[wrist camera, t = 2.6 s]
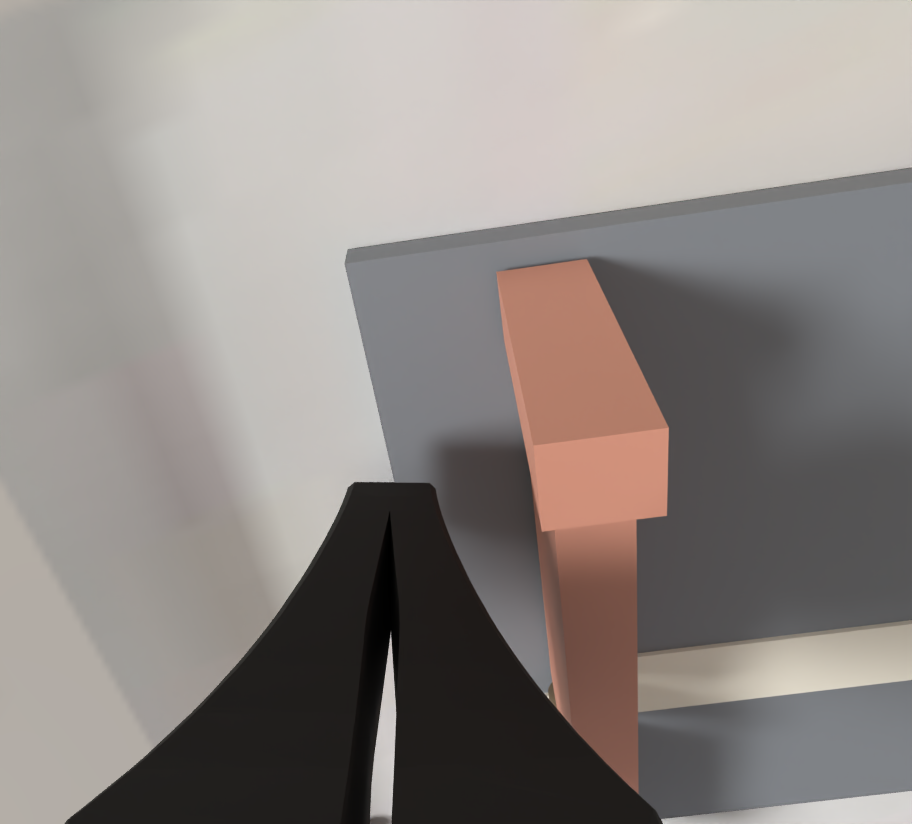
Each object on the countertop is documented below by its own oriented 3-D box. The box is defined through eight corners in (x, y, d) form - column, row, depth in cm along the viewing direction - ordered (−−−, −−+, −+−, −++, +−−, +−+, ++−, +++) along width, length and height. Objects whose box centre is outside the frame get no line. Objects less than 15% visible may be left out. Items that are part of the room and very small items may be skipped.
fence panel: (604, 667, 17) (658, 888, 13) (542, 675, 17) (577, 897, 13) (586, 258, 12) (668, 427, 8) (496, 272, 12) (533, 445, 8)
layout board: (980, 761, 21) (996, 784, 20) (475, 818, 22) (476, 843, 21) (1244, 119, 12) (1287, 130, 11) (347, 249, 12) (343, 266, 12)
